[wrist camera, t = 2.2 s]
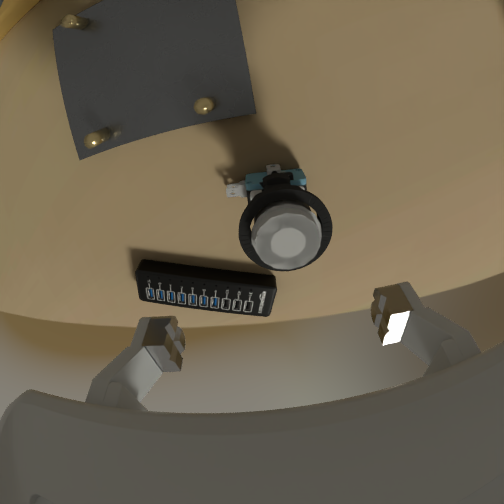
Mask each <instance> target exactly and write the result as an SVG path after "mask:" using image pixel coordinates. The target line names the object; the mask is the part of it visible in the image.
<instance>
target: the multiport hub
mask: <svg viewBox="0 0 504 504" xmlns="http://www.w3.org/2000/svg"><path fill="white" fill-rule="evenodd" d="M135 274H136V281H137V287H138V293H139V298H140V299H141V300H142V301H147V302H153V303H159V304H165V305H172V306H179V307H186V308H193V309H201V310H208V311H217V312H225V313H234V314H243V315H253V316H264V317H267V316H269V315H270V313H271V309H272V306H273V302H274V299H275V295H276V292H277V287H276V278H275V276H273V275H266V274H257V273H249V272H240V271H231V270H223V269H215V268H207V267H199V266H191V265H183V264H175V263H168V262H160V261H153V260H146V259H143V260H141V262H140V264H139V266H138V268H137V270H136V272H135Z"/></svg>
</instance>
